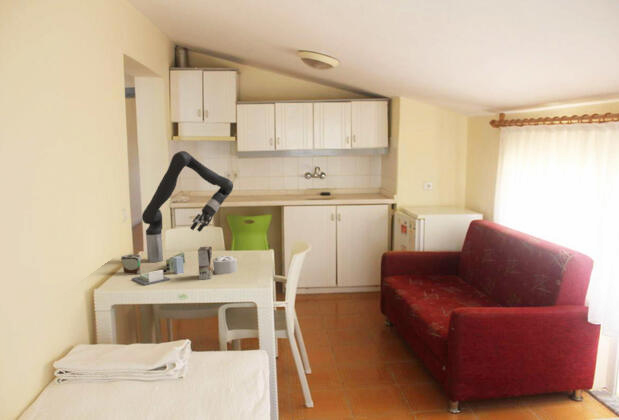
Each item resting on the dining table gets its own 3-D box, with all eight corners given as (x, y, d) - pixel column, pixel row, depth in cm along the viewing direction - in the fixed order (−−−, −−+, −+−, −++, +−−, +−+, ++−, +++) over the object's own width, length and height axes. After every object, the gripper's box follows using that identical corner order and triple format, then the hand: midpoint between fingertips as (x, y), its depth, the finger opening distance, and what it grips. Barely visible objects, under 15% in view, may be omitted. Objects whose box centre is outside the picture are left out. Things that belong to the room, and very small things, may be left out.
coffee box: (211, 279, 261) (209, 249, 259) (199, 279, 260) (197, 250, 258) (213, 274, 270) (211, 246, 268) (201, 275, 270) (199, 246, 267)
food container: (146, 271, 279) (145, 254, 278) (139, 274, 273) (138, 257, 272) (129, 270, 283) (128, 253, 282) (122, 273, 277) (120, 256, 276)
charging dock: (132, 279, 263) (131, 269, 262) (156, 274, 272) (155, 264, 271) (144, 285, 251) (143, 274, 250) (169, 280, 260) (169, 269, 260)
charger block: (173, 272, 276) (172, 257, 275) (179, 271, 279) (179, 256, 278) (177, 274, 273) (176, 258, 272) (183, 272, 276) (182, 257, 274)
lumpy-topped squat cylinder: (213, 270, 279) (212, 255, 278) (235, 268, 283) (234, 253, 282) (215, 275, 269) (214, 259, 268) (238, 272, 273) (238, 257, 272)
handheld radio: (186, 263, 300) (166, 273, 276) (181, 263, 300) (161, 273, 276) (185, 252, 299) (165, 261, 275) (180, 252, 300) (160, 262, 275)
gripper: (201, 203, 290) (184, 225, 284) (212, 205, 279) (196, 227, 273) (209, 211, 294) (193, 232, 288) (221, 213, 283) (205, 235, 277)
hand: (194, 230), depth 280 cm, fingers open, 8 cm apart
